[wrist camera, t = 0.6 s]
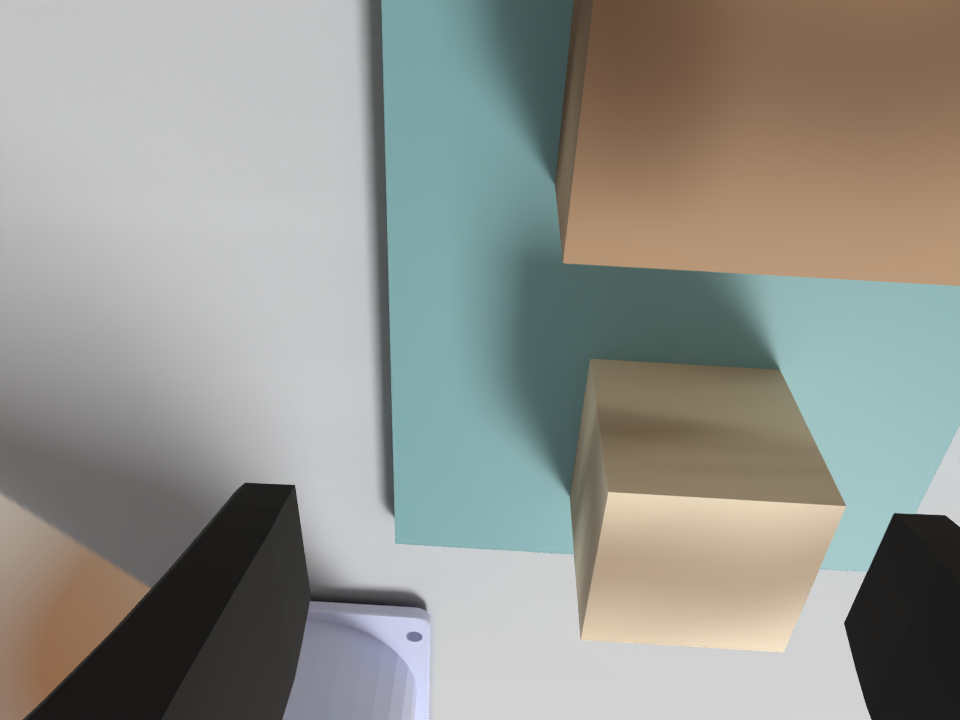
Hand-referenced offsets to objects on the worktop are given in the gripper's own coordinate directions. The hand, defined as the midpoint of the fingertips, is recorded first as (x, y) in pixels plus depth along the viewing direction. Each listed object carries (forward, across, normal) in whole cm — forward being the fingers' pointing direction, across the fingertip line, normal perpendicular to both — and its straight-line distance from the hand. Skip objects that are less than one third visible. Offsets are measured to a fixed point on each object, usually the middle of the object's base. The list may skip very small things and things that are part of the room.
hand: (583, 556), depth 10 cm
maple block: (+9, -3, +5) cm, 11 cm away
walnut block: (+9, -3, -5) cm, 11 cm away
